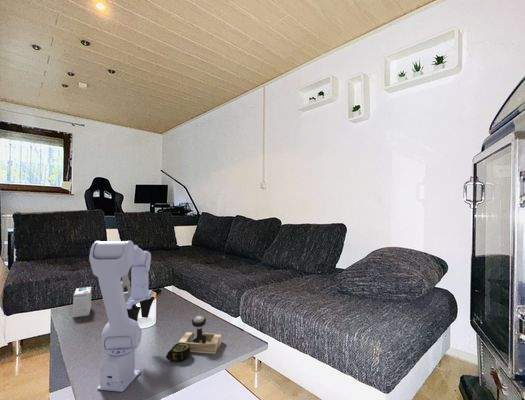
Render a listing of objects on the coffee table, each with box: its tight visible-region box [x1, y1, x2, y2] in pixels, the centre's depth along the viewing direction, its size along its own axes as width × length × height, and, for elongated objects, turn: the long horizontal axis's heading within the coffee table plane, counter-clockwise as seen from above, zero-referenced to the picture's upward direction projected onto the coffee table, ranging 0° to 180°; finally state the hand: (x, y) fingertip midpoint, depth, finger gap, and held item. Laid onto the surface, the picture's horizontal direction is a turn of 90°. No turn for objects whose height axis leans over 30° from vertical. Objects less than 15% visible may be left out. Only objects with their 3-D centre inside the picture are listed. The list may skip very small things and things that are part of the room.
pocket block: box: [177, 331, 223, 355], centre depth 104 cm, size 9×14×3 cm, turn 83°
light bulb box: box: [72, 286, 92, 318], centre depth 134 cm, size 11×7×11 cm, turn 28°
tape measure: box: [165, 343, 191, 362], centre depth 97 cm, size 7×7×4 cm
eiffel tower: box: [121, 273, 131, 302], centre depth 143 cm, size 13×13×30 cm
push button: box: [191, 315, 207, 343], centre depth 104 cm, size 7×5×10 cm
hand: (139, 321), depth 101 cm, fingers open, 7 cm apart
